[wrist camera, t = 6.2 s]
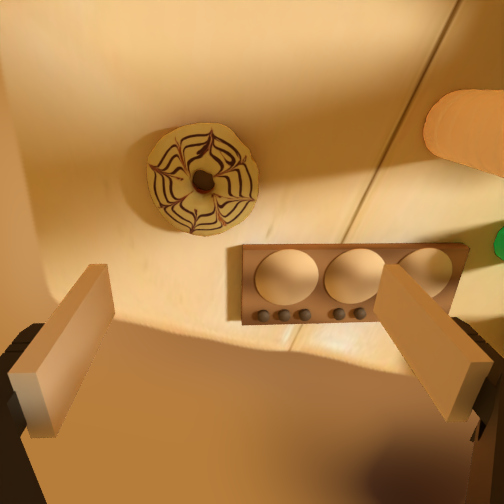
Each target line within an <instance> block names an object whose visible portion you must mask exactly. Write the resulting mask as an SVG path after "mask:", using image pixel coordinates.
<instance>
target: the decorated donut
mask: <svg viewBox="0 0 504 504" xmlns="http://www.w3.org/2000/svg"><path fill="white" fill-rule="evenodd" d="M198 170H203V171H205V172H206V173H208V174H212V178H213V181H214V187H213V188H212V189H211V190H206V191H205V190H201V189H198V188H197V187H196V186H195V185H194V184H193V183H192V181H193V176H194V173H195V172H196V171H198ZM258 177H259V170H258V167H257V164H256V162H255V160H254V159H253V158H252V155H251V151H250V149H249V148H248V147H246V146H245V145H244V144H243V143H242V142H241V141H240V140H239V138H238V137H237V136H236V134H235V133H234V132H233V131H232V130H231V129H229V128H228V127H227V126H225V125H223V124H219V123H201V122H200V123H196V124H189V125H185V126H181V127H179V128H176V129H175V130H173V131H171V132H169V133H167V134H166V135H164V136H163V137H162V138H161V139H160V140H159V141H158V142H157V144H156V145H155V147H154V148H153V150H152V151H151V153H150V154H149V156H148V159H147V183H148V185H149V191H150V194H151V198H152V200H153V202H154V204H155V206H156V207H157V209H158V210H159V211H160V213H161V214H162V216H163V217H164V218H165V219H166V220H167V221H168V222H169V223H171V225H172V226H174V227H175V228H177V229H179V230H181V231H183V232H187V233H190V234H193V235H198V236H211V235H216V234H220V233H223V232H225V231H227V230H229V229H230V228H232V227H233V226H235V225H237V224H239V223H241V222H242V221H244V220H245V219H246V218H247V217H248V215H249V214H250V213H251V212H252V209H253V208H254V205H255V203H256V200H257V196H258V192H259V188H258V187H259V184H258Z"/></svg>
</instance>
